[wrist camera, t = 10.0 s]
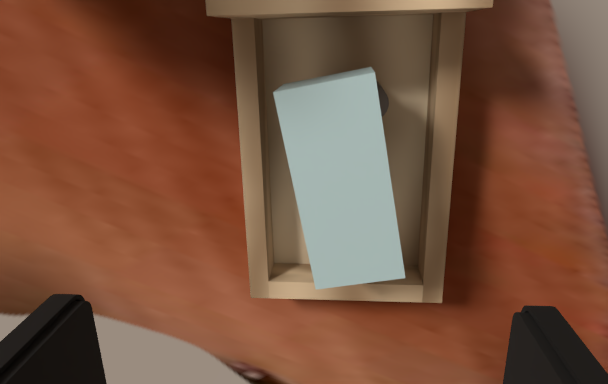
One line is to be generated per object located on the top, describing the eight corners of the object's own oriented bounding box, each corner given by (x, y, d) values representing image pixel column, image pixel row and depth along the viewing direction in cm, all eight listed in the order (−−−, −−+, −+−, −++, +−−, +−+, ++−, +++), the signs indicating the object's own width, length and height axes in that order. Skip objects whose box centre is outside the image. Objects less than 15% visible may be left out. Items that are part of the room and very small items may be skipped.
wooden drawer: (260, 271, 33) (234, 341, 26) (243, -2, 27) (204, -15, 20) (432, 275, 32) (458, 350, 24) (453, -9, 26) (495, -25, 19)
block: (283, 84, 24) (273, 92, 20) (371, 66, 23) (375, 72, 20) (319, 258, 27) (315, 289, 23) (398, 246, 26) (405, 278, 23)
